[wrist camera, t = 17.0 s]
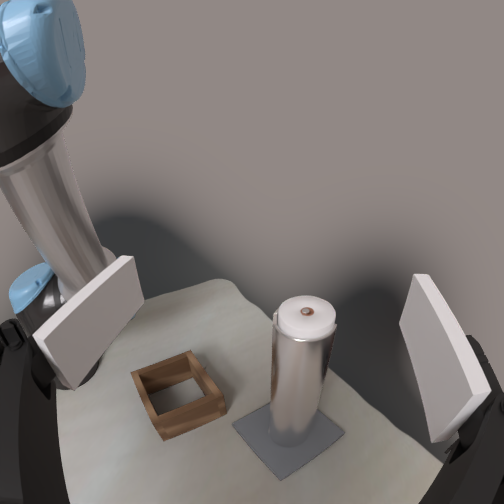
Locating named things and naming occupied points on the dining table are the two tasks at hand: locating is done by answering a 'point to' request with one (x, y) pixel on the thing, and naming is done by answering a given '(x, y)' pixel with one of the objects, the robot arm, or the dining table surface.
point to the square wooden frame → (188, 414)
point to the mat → (284, 458)
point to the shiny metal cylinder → (299, 366)
